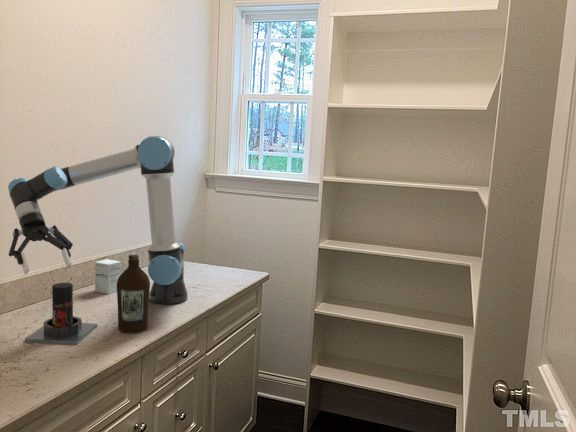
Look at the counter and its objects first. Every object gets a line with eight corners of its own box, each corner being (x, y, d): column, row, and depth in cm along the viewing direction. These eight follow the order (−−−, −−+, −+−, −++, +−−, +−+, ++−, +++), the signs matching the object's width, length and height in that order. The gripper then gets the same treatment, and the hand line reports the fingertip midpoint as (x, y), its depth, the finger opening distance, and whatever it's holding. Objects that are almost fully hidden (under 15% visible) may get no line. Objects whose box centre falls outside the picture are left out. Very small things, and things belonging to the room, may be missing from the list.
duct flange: (97, 326, 171) (97, 315, 170) (76, 344, 155) (76, 332, 154) (50, 323, 171) (50, 312, 171) (24, 341, 155) (24, 329, 155)
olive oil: (118, 323, 175) (118, 252, 171) (150, 322, 177) (151, 252, 174) (114, 334, 164) (115, 259, 161) (148, 333, 167) (149, 259, 164)
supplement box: (94, 291, 210) (94, 262, 208) (106, 287, 216) (107, 258, 215) (108, 294, 207) (108, 264, 205) (120, 290, 214) (121, 260, 212)
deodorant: (76, 329, 165) (76, 284, 163) (63, 335, 159) (63, 288, 157) (62, 326, 167) (62, 281, 165) (48, 332, 161) (47, 286, 159)
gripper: (63, 221, 187) (82, 269, 179) (-12, 227, 169) (5, 280, 161) (69, 208, 183) (89, 257, 175) (-8, 213, 165) (10, 267, 157)
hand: (48, 268), depth 168 cm, fingers open, 13 cm apart
